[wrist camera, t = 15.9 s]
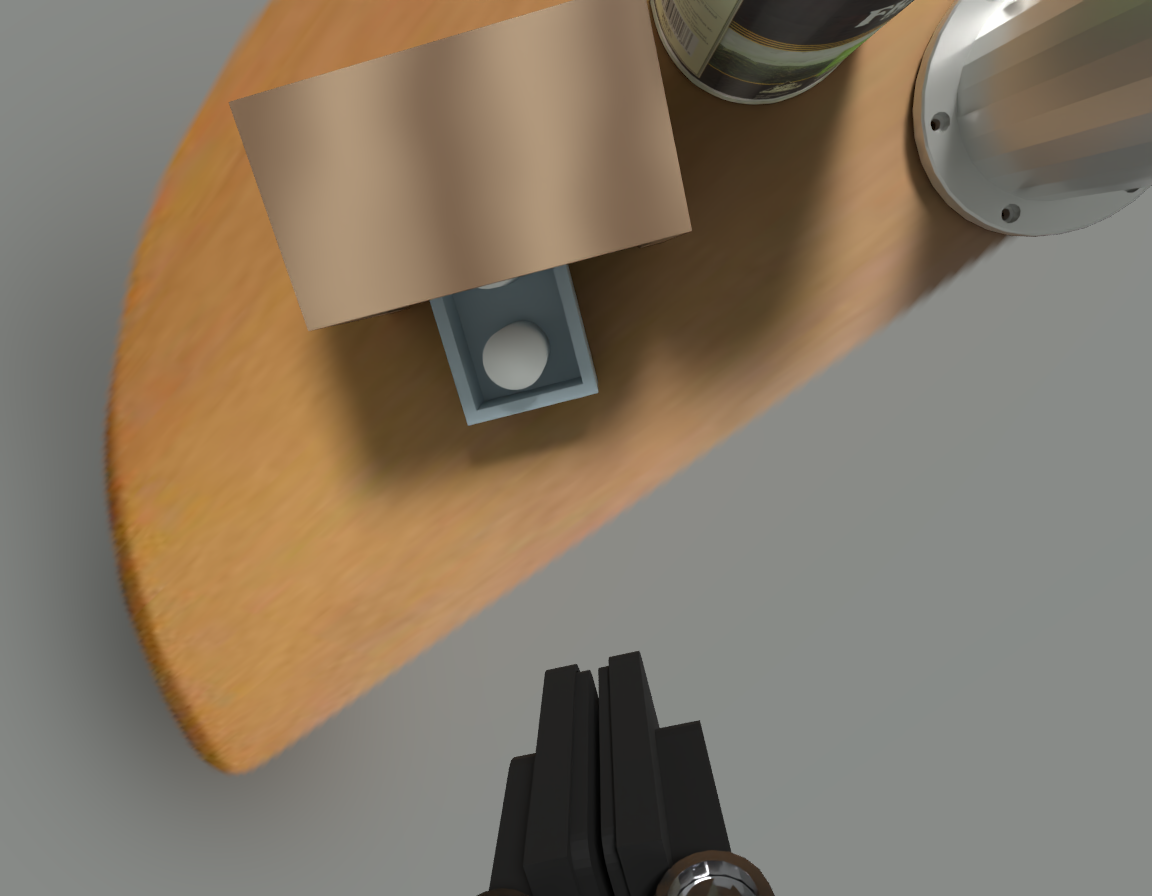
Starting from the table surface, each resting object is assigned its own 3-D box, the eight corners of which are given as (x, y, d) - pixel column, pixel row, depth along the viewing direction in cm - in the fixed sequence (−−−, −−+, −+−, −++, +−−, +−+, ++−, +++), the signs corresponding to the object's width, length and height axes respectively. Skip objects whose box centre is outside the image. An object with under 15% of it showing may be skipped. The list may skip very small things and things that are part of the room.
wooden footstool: (626, 69, 31) (642, -20, 22) (662, 242, 33) (692, 230, 24) (336, 151, 33) (228, 102, 23) (387, 314, 35) (308, 331, 25)
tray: (548, 184, 33) (540, 170, 28) (597, 381, 35) (598, 398, 30) (422, 220, 33) (393, 211, 29) (479, 411, 36) (462, 433, 31)
